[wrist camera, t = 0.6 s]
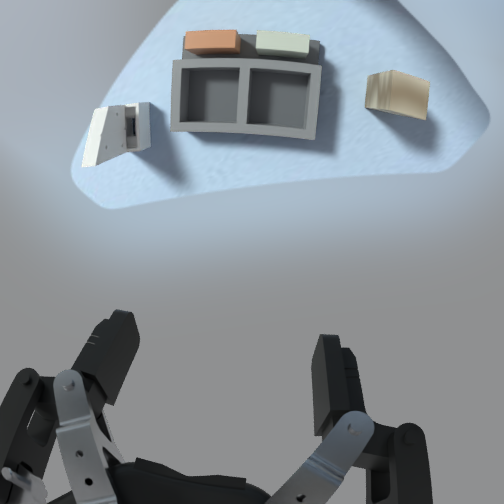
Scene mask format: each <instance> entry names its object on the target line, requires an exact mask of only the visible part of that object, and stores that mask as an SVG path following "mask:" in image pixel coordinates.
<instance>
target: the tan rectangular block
mask: <svg viewBox="0 0 504 504" xmlns="http://www.w3.org/2000/svg"><path fill="white" fill-rule="evenodd" d="M429 87H430V82H429V81H426V80H424V79H421V78H418V77H415V76H412V75H409V74H405V73H402V72H399V71H395V70H390V71H386V72H381V73H377V74H373V75H369V76H368V77H367V89H366V99H365V108H370V109H374V110H378V111H383V112H387V113H391V114H395V115H401V116H406V117H412V118H417V119H422V120H426V115H427V107H428V98H429Z"/></svg>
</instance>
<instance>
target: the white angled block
mask: <svg viewBox="0 0 504 504" xmlns="http://www.w3.org/2000/svg"><path fill="white" fill-rule="evenodd" d="M132 118H135V134H136V135H133V125H132ZM149 147H151V135H150V102H144V103H133V104H126V105H117V106H108V107H103V108H97V109H95V110H94V114H93V117H92V121H91V125H90V129H89V133H88V138H87V142H86V147H85V151H84V156H83V161H82V167H91V166H97V165H99V164H101V163H103V162H105V161H108V160H110V159H112V158H114V157H117V156H119V155H121V154H124V153H126V152H136V151H142V150H144V149H147V148H149Z"/></svg>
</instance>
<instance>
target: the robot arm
mask: <svg viewBox="0 0 504 504" xmlns="http://www.w3.org/2000/svg"><path fill="white" fill-rule="evenodd" d="M139 343H140V336H139V332H138V329H137V325H136V322H135V318H134V315H133V313H132V312H128V311H122V310H115V311H114V312H113V314H112V315H111V317H110V319H104V320H103V321H102V322H100V323H99V324H98V325H97V326H96V327H95V329H94V330H93V333H92V334H91V336H90V337H89V339H88V340H87V343H86V344H85V346H84V347H83V349H82V351H81V352H80V354H79V356H78V357H77V359H76V361H75V363H74V365H73V366H72V368H71V369H70V370H64V371H62V372H60V373H59V374H58V375H57V376H56V377H43V376H39V374H38V373H37V372H36V371H35V370H34V369H32V368H25V369H23V370H21V371H20V372H19V373H18V374H17V375H16V377H15V379H14V380H13V382H12V384H11V386H10V388H9V390H8V392H7V394H6V396H5V398H4V400H3V402H2V404H1V406H0V504H325V503H326V502H327V501H328V500H329V498H330V497H331V496H332V495H333V494H334V492H335V491H336V490H337V489H338V487H339V486H340V485H341V483H342V482H343V480H344V476H345V475H346V473H347V472H348V470H349V469H350V468H351V466H354V467H359V468H364V469H366V504H433V499H432V487H431V478H430V468H429V460H428V453H427V446H426V440H425V435H424V432H423V430H422V429H421V428H420V427H419V426H417V425H416V424H413V423H405V424H402V425H400V426H399V427H398V428H394V427H389V426H384V425H381V424H378V423H376V422H374V421H373V420H372V419H371V418H370V417H369V416H368V415H367V413H366V411H365V406H364V400H363V394H362V388H361V383H360V379H359V372H358V367H357V362H356V357H355V356H354V354H353V353H352V351H351V350H350V348H341V345H340V339H339V336H338V335H326V334H325V335H324V334H320V336H319V339H318V342H317V345H316V348H315V351H314V355H313V358H312V366H311V370H312V388H313V406H314V433H315V436H322V443H321V444H320V445H319V446H318V448H317V449H316V450H315V451H314V453H313V454H312V455H311V456H310V457H309V458H308V459H307V460H306V461H305V462H304V463H303V464H302V466H301V467H300V468H299V469H298V470H297V471H296V472H295V473H294V474H293V475H292V476H291V477H290V478H289V480H288V481H287V482H286V483H285V484H284V485H283V486H282V487H281V488H280V489H279V490H278V491H277V492H276V493H275V494H274V495H273V496H272V497H271V496H270V495H269V494H268V493H266V492H265V491H264V490H262V489H260V488H258V487H256V486H254V485H252V484H249V483H246V478H239V477H229V476H222V475H210V476H185V475H183V474H181V473H179V472H177V471H175V470H173V469H171V468H169V467H167V466H164V465H163V464H159V463H155V462H152V461H148V460H144V459H141V458H136V461H135V462H128V463H125V461H124V459H123V457H122V455H121V453H120V451H119V450H118V448H117V446H116V444H115V442H114V439H113V436H112V434H111V431H110V428H109V425H108V422H107V419H106V416H105V413H104V410H103V407H104V405H105V403H107V404H110V405H113V406H114V403H115V401H116V399H117V396H118V394H119V391H120V389H121V387H122V384H123V382H124V380H125V377H126V375H127V372H128V370H129V368H130V366H131V364H132V361H133V359H134V357H135V354H136V352H137V350H138V348H139ZM34 410H35V412H34ZM33 412H34V414H33ZM32 414H33V417H32V419H31V421H30V418H31V416H32ZM29 421H30V424H29V426H28V423H29ZM27 426H28V429H27ZM56 437H57V439H58V444H59V448H60V452H61V455H62V459H63V463H64V466H65V470H66V473H67V476H68V479H69V483H70V486H71V489H72V490H71V491H70V492H68V493H66V494H64V495H62V496H60V497H58V498H57V499H55V500H53V501H51V502H49V503H46V500H45V498H46V497H47V490H46V489H45V485H44V483H43V481H42V479H43V475H44V472H45V469H46V466H47V463H48V460H49V457H50V454H51V451H52V448H53V445H54V442H55V439H56Z"/></svg>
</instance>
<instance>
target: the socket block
mask: <svg viewBox="0 0 504 504" xmlns="http://www.w3.org/2000/svg"><path fill="white" fill-rule="evenodd" d="M309 39H310V35H305V34H297V33H288V32H276V31H260V30H257V35H248V34H238V32H237V30H204V31H188V32H186V36H184V39H183V52H182V60H173V68H172V88H171V127H170V132H226V133H245V134H259V135H272V136H282V137H292V138H301V139H309V140H315V134H316V125H317V115H318V105H319V94H320V83H321V71H322V66H320V65H318V59H319V45H320V41H316V40H309Z"/></svg>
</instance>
